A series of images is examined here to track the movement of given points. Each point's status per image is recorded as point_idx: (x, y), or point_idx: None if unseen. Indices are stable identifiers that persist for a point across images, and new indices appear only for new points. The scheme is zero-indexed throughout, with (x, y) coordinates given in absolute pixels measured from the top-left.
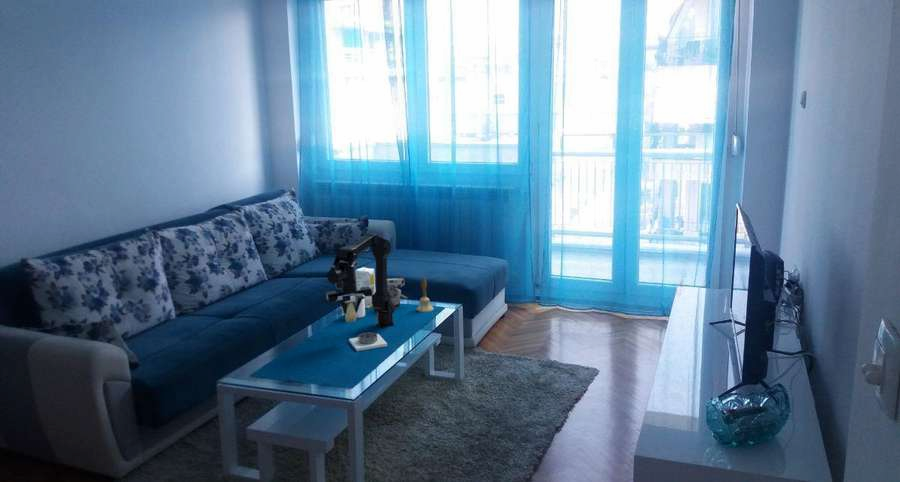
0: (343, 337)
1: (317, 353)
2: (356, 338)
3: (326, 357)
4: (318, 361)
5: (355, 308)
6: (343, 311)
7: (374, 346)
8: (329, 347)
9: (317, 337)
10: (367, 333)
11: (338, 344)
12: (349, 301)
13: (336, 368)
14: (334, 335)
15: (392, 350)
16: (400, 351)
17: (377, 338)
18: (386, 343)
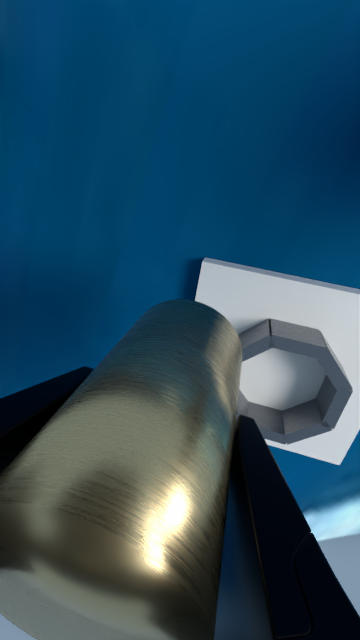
0: (207, 148)
1: (12, 312)
2: (244, 288)
3: (41, 378)
4: (8, 391)
5: (230, 478)
6: (56, 383)
7: (266, 439)
8: (77, 274)
9: (43, 11)
10: (308, 355)
11: (132, 262)
12: (81, 573)
13: None
14: (168, 45)
15: (316, 500)
16: (336, 527)
17: (353, 375)
18: (336, 463)
